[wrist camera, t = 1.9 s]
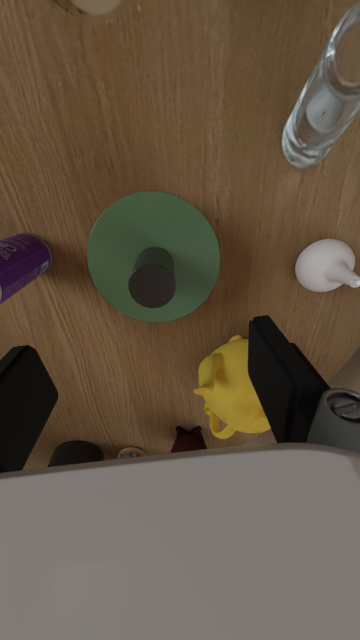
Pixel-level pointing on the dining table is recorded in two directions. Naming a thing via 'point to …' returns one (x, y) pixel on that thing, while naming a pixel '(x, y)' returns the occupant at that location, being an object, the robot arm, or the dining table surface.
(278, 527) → the robot arm
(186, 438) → the mate gourd
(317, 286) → the garlic bulb
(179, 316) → the lid
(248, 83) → the dining table surface
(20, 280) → the container
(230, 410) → the teapot
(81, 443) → the cup
